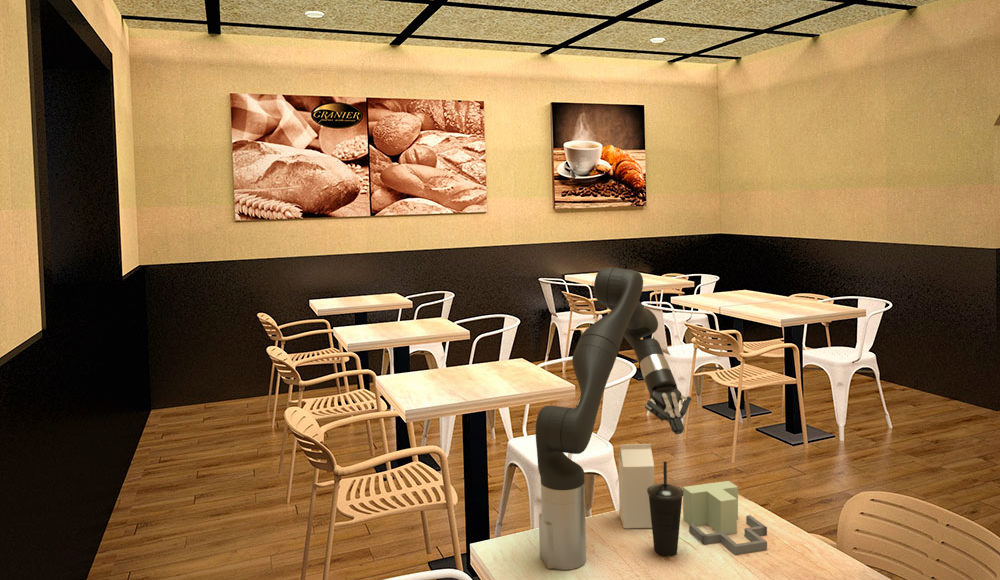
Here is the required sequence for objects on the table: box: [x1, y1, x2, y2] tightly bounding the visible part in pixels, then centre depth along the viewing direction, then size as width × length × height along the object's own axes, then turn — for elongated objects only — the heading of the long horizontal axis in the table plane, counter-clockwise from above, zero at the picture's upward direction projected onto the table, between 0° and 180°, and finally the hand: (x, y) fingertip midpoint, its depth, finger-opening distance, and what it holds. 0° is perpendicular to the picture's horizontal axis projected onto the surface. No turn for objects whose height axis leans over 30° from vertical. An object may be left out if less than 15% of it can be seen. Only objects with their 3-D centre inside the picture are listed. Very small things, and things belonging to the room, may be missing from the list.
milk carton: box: [618, 443, 655, 529], centre depth 167 cm, size 7×7×19 cm
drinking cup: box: [647, 461, 684, 558], centre depth 153 cm, size 8×8×20 cm
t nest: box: [688, 514, 768, 556], centre depth 158 cm, size 16×13×2 cm
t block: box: [682, 480, 739, 536], centre depth 165 cm, size 12×10×8 cm
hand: (679, 432), depth 181 cm, fingers closed
